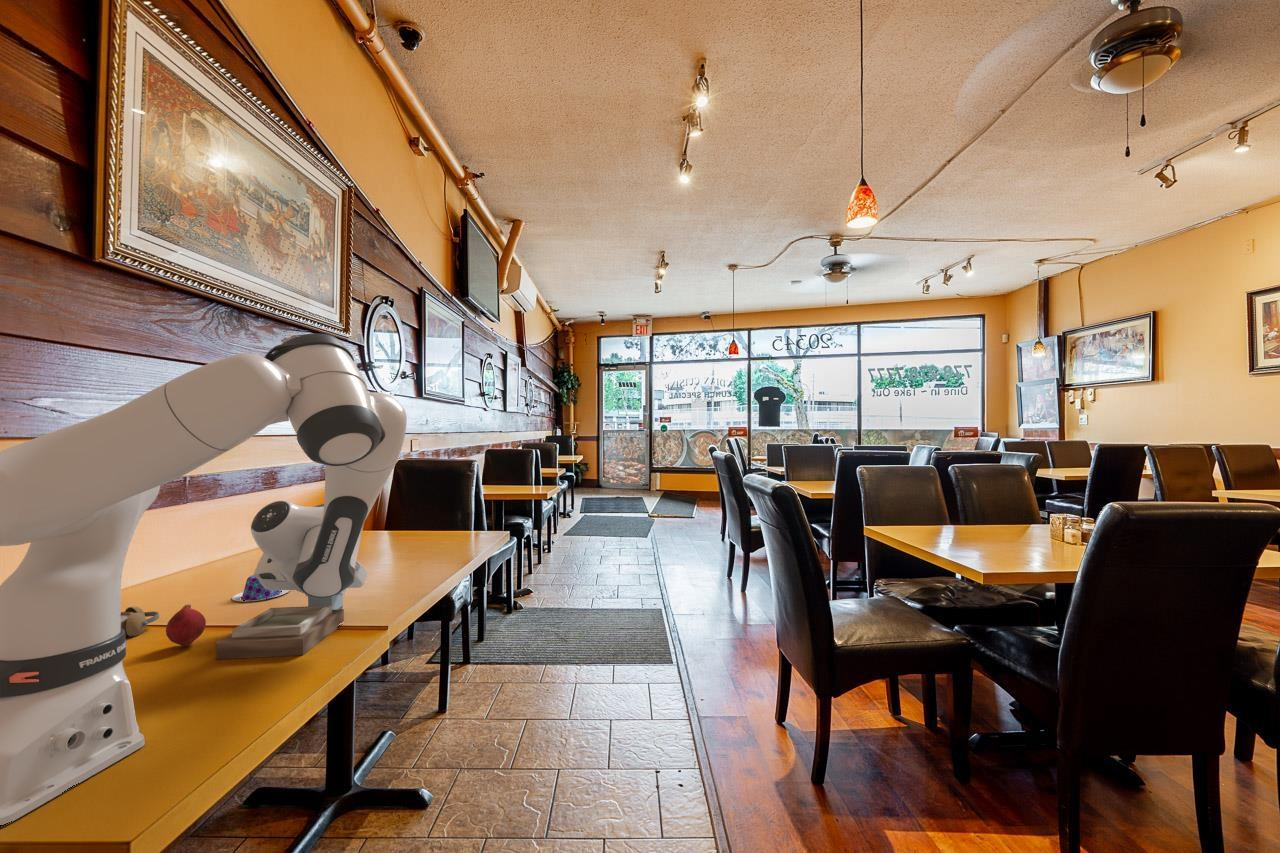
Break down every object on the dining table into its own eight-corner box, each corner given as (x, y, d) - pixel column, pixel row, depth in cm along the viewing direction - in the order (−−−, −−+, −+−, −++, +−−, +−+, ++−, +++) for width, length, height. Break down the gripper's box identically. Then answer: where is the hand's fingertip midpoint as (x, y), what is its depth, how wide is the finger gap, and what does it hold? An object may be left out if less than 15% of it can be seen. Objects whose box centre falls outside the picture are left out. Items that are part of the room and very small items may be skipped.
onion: (182, 653, 100) (182, 610, 100) (158, 651, 101) (157, 608, 101) (213, 641, 106) (212, 600, 106) (189, 639, 107) (189, 598, 107)
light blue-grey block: (332, 616, 118) (331, 580, 118) (308, 617, 118) (307, 581, 118) (342, 609, 123) (342, 574, 123) (320, 610, 123) (319, 575, 123)
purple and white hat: (295, 596, 135) (295, 575, 135) (236, 607, 126) (235, 585, 126) (284, 586, 143) (284, 566, 143) (228, 596, 135) (228, 575, 135)
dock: (303, 655, 98) (302, 630, 98) (216, 659, 97) (215, 634, 97) (343, 623, 114) (343, 602, 114) (269, 626, 113) (269, 604, 113)
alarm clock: (54, 626, 107) (153, 595, 118) (61, 649, 108) (159, 616, 119) (50, 641, 100) (157, 607, 110) (58, 666, 100) (163, 630, 111)
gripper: (359, 545, 115) (378, 578, 124) (258, 548, 113) (285, 581, 123) (350, 572, 110) (370, 604, 120) (244, 575, 109) (274, 607, 118)
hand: (327, 592), depth 121 cm, fingers closed on light blue-grey block, 5 cm apart
